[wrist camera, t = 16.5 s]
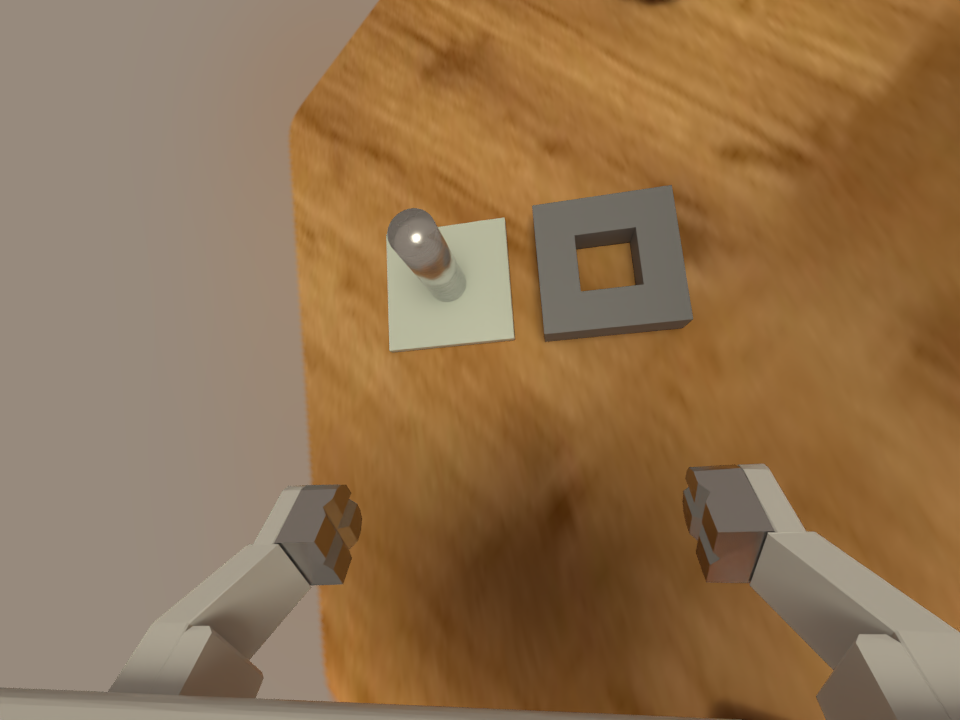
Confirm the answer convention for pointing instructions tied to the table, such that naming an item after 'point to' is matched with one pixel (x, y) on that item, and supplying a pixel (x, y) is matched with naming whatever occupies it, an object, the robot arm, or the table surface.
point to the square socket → (610, 222)
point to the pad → (474, 312)
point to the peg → (426, 253)
